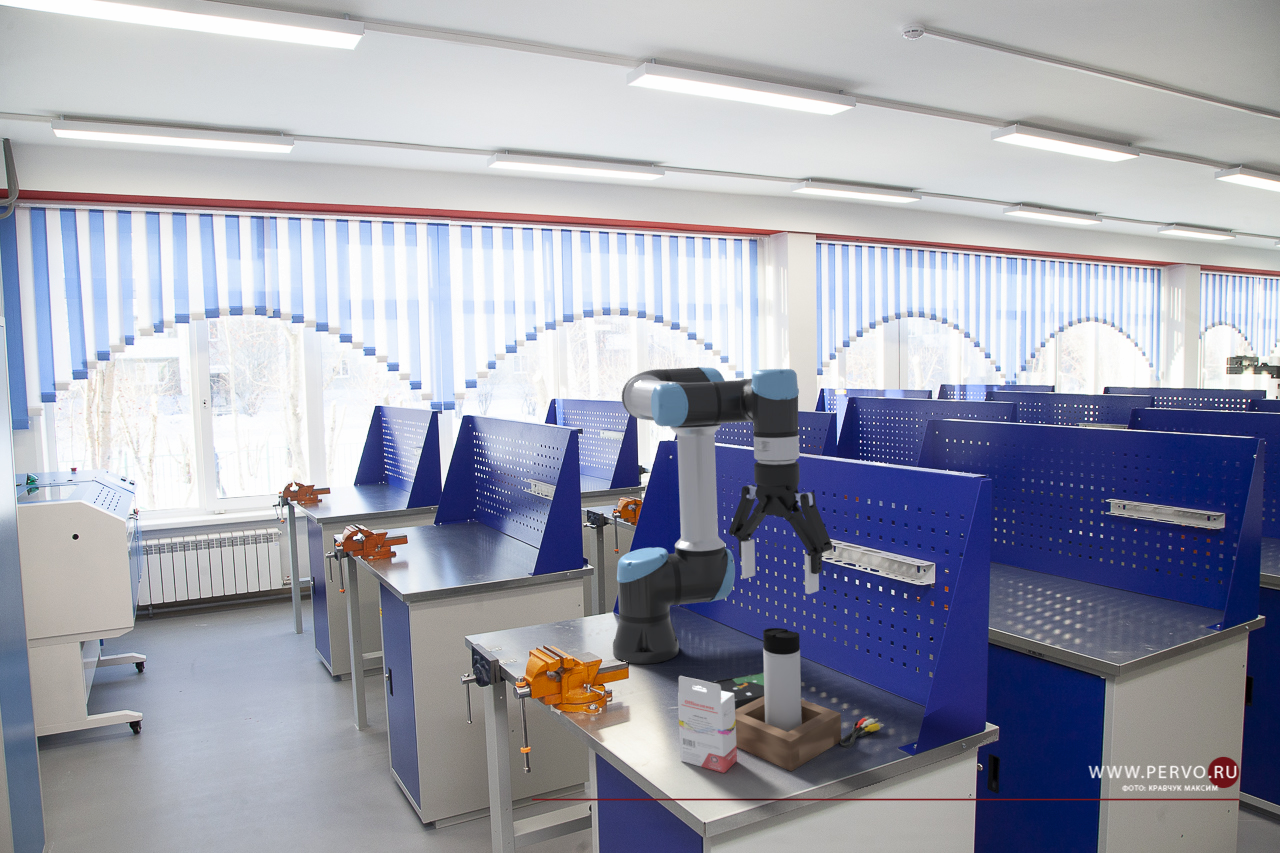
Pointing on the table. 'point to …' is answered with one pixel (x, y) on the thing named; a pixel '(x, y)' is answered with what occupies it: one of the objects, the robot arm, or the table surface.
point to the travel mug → (782, 678)
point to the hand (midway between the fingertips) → (779, 584)
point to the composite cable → (860, 730)
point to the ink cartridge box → (706, 724)
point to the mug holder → (787, 734)
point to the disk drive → (743, 688)
